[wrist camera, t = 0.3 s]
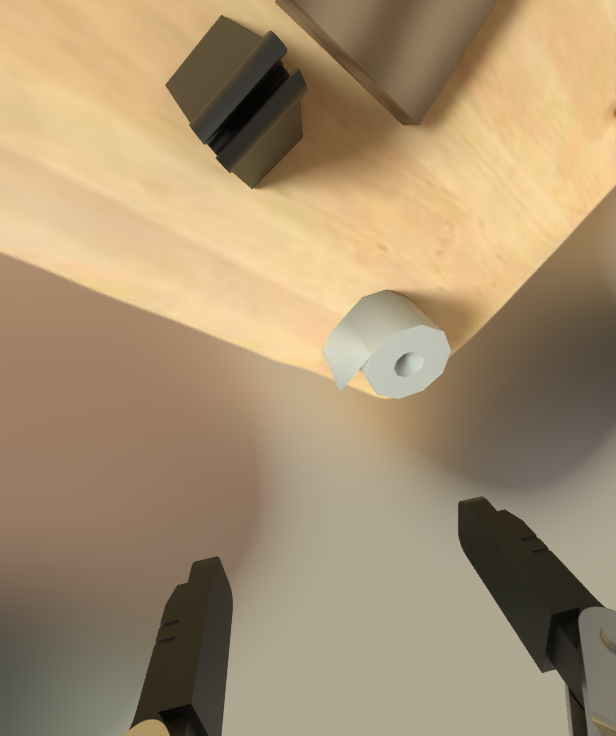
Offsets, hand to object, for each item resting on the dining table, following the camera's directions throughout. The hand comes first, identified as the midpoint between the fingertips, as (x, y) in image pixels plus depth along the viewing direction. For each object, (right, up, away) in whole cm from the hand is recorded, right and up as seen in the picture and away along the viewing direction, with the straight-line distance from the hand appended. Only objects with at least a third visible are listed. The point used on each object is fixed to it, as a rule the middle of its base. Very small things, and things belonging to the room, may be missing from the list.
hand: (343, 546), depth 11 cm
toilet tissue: (+6, +11, +31) cm, 33 cm away
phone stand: (-7, +26, +16) cm, 31 cm away
